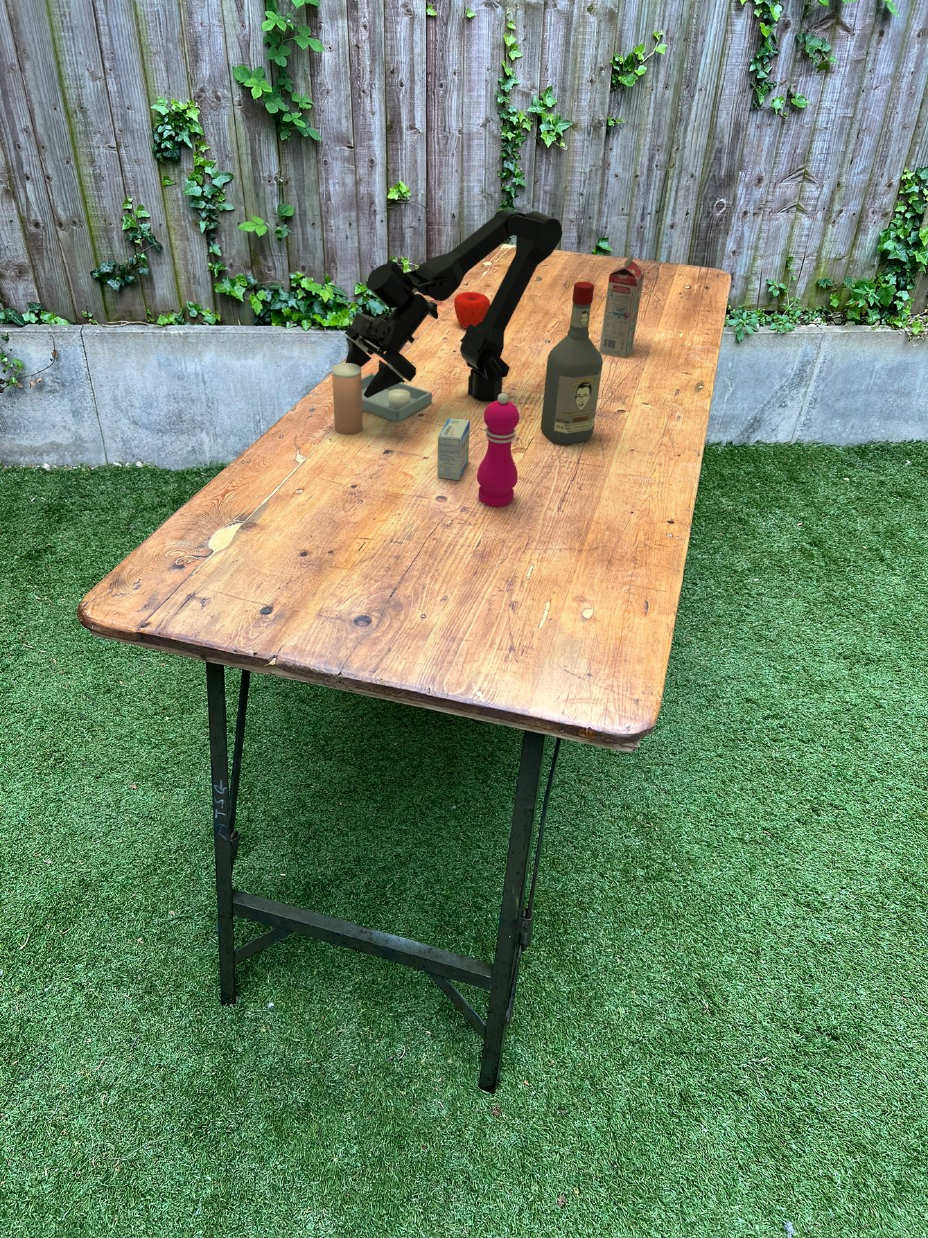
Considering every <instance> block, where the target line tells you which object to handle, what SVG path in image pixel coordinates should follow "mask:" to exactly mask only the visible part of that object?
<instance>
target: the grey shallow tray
mask: <svg viewBox="0 0 928 1238" xmlns="http://www.w3.org/2000/svg"><path fill="white" fill-rule="evenodd" d="M376 374H377V373H373V372H371V373H369V374H367V375H364V376H363V377H361V384H362V412H365V413H368V414H371V415H374V416H377V417H380V418H383V419H385V420H388V421H391V422H394V423H397V424H398V423H400V422H401V421H403V420H405V419H407V418H408V417H410V416H411V415H413V414H415V413H417V412H419V411H421V410H422V409H423V408H425V407H427V406H429V405H431V404H432V403H433V402H432V401H433V393H432V392H431V391H428V390H425V389H422V388H420V387H419V388H418V387H415V386H412V385H410V384H406V383H402V382H401V383H399V384H396V385H394V386H392V387H389V388H387V389H385V390H383V391H381V392H379V393H377V394H375V395H373V396H371V397H369V398H366V397H365V396H364V393H365V391H366V389H367V387H368V386H369V384H370V383H371V381H372V380H373V378H374V377H375V375H376ZM394 389H404V390H407V391H409V392H410V403H409V404H407V405H406V406H404V407H402V408H400V409H399V410H394V409H391V408H389V392H390V391H391V390H394Z"/></svg>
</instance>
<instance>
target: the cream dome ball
mask: <svg viewBox="0 0 928 1238" xmlns="http://www.w3.org/2000/svg"><path fill="white" fill-rule="evenodd" d="M409 403H410V392H409V391H407V390H404V389H394V390H391V391H390V392H389V408H391V409H394V410H399V409H400V408H402V407H404V406H406V405H407V404H409Z"/></svg>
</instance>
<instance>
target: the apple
mask: <svg viewBox="0 0 928 1238" xmlns="http://www.w3.org/2000/svg"><path fill="white" fill-rule="evenodd" d="M453 303H454V304H453V305H454V312H455V315H456V316H455V317H456V319H457V322H458V324H459V325H460V327H462V328H464V329H466V330H467V327H468V326H469V325H470V324H472V325H474V326H476V325H477V324H479V323H480V322H481V321H482V320H483V319H484V317H485V315H486V313H487V311H488V309H489V307H490V305H491V301H490V299H489V298H488V296H486V295H485V294H482V293H479V292H474V291H466V292H465V291H464V292H460V293H459V294H456V296H455V298H454V301H453Z"/></svg>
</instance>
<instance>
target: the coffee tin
mask: <svg viewBox="0 0 928 1238" xmlns="http://www.w3.org/2000/svg"><path fill="white" fill-rule="evenodd" d="M331 376H332V378H331V379H332V397H333V399H332V401H333V416H334V417H333V418H334V419H333V420H334V430H335V431H336V432H337V433H339V434H341V435H346V436H347V435H349V436H350V435H356V434H359V433H361V432H362V431H363V430H364V427H363V426H364V425H363V424H364V423H363V421H364V420H363V411H362V384H361V378H362V367H360V366H358V365H356V364H351V363H345V362H344V363H338V364H335V365H333V366H332V367H331Z"/></svg>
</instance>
